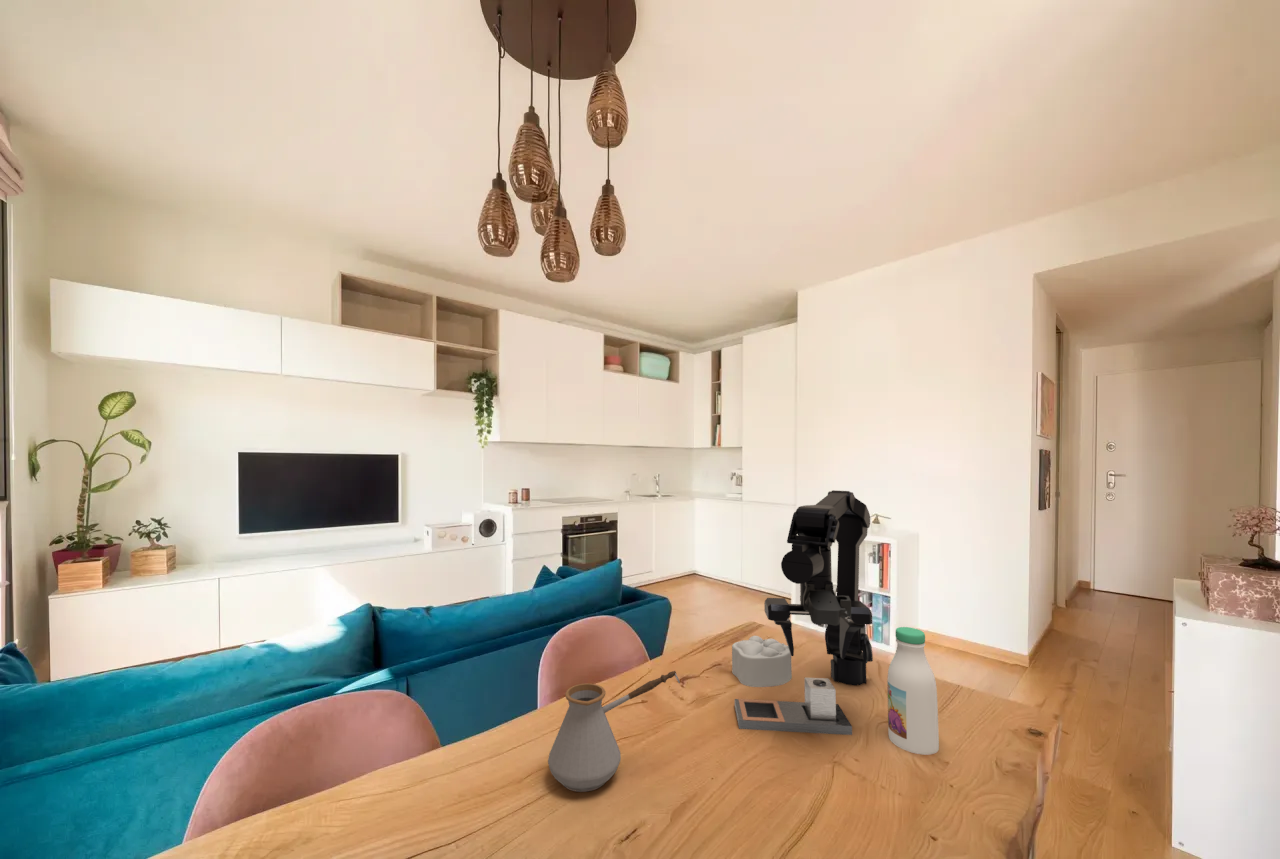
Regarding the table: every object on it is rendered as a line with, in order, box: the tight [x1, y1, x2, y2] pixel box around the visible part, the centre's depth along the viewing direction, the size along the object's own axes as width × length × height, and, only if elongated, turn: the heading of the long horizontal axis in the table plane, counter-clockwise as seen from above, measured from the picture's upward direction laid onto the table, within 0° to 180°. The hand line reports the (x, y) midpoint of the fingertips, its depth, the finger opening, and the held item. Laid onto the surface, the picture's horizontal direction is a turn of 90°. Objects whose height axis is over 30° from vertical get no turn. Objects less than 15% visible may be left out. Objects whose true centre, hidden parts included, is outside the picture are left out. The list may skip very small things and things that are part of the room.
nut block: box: [804, 676, 837, 722], centre depth 92 cm, size 4×4×7 cm
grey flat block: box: [734, 698, 853, 736], centre depth 93 cm, size 20×8×3 cm, turn 85°
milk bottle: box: [887, 626, 940, 756], centre depth 86 cm, size 8×8×20 cm
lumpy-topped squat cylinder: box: [731, 635, 793, 688], centre depth 112 cm, size 10×13×9 cm
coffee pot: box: [547, 670, 681, 793], centre depth 79 cm, size 21×12×15 cm, turn 101°
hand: (817, 656), depth 93 cm, fingers open, 9 cm apart
